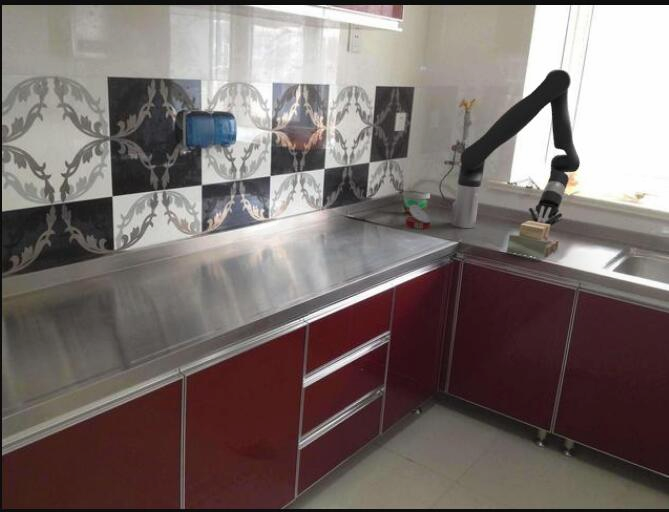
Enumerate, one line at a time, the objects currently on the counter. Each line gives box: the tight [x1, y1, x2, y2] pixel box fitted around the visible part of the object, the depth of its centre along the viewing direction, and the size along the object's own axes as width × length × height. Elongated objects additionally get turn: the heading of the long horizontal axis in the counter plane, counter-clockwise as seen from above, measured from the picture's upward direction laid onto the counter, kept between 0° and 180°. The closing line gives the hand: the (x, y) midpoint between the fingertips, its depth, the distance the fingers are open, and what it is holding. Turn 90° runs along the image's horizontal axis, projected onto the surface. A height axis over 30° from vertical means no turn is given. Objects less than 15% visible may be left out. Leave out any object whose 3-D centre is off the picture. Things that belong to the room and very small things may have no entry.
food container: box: [401, 190, 431, 216], centre depth 280 cm, size 12×6×10 cm, turn 81°
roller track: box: [506, 233, 560, 260], centre depth 236 cm, size 20×13×6 cm, turn 147°
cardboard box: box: [518, 220, 551, 242], centre depth 233 cm, size 10×8×7 cm
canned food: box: [405, 204, 431, 230], centre depth 260 cm, size 11×10×10 cm
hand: (538, 232), depth 238 cm, fingers closed
